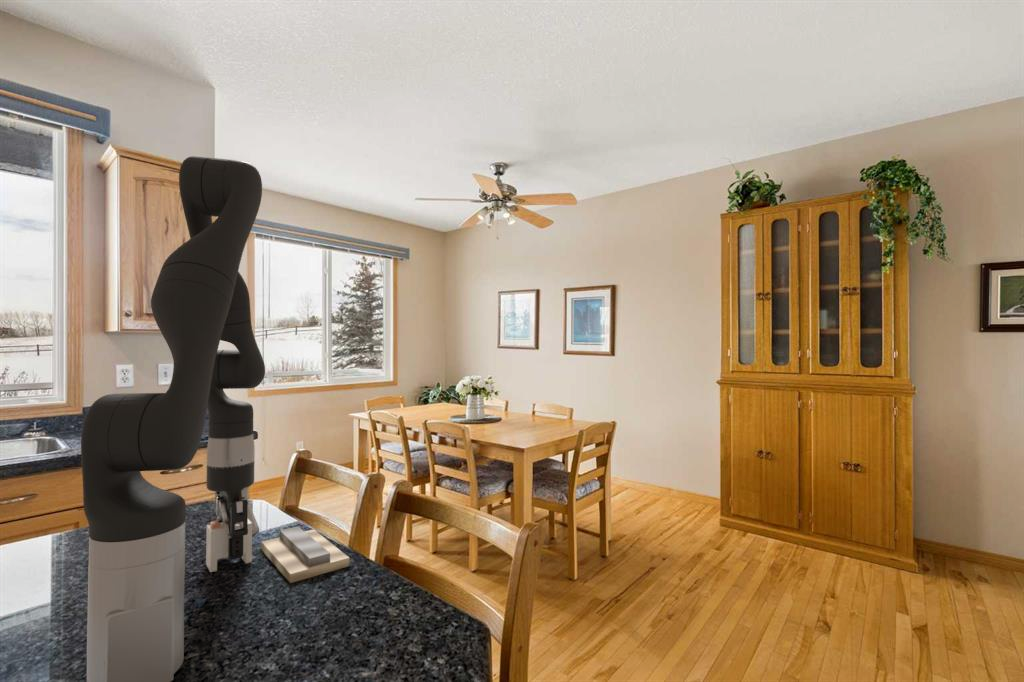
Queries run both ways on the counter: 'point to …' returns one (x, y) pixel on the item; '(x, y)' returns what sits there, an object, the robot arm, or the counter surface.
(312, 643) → the counter surface
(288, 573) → the rail board
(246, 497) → the flask
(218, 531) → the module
